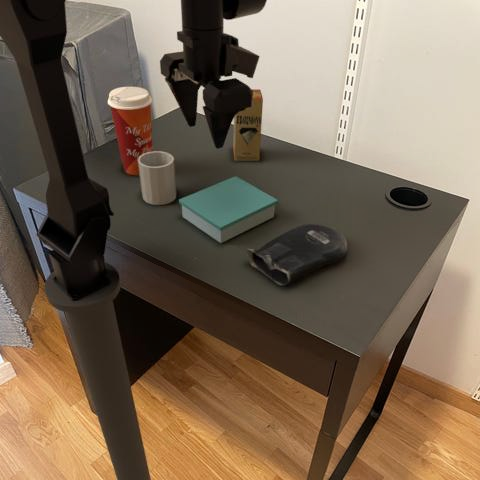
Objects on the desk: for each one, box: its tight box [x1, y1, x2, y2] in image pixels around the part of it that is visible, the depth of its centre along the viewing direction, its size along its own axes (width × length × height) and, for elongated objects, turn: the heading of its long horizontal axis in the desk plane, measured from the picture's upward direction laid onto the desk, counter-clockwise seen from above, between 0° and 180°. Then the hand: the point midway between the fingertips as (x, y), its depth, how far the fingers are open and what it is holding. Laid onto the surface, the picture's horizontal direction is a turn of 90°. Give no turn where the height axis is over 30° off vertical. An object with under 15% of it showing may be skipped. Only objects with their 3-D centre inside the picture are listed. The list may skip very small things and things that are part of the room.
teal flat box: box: [178, 175, 279, 244], centre depth 81 cm, size 13×11×3 cm
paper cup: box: [107, 86, 154, 176], centre depth 88 cm, size 8×8×14 cm
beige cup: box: [138, 150, 177, 206], centre depth 84 cm, size 6×6×7 cm
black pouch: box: [245, 223, 348, 286], centre depth 73 cm, size 9×6×15 cm
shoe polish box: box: [232, 88, 264, 162], centre depth 94 cm, size 5×5×12 cm
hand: (205, 136), depth 77 cm, fingers open, 9 cm apart
